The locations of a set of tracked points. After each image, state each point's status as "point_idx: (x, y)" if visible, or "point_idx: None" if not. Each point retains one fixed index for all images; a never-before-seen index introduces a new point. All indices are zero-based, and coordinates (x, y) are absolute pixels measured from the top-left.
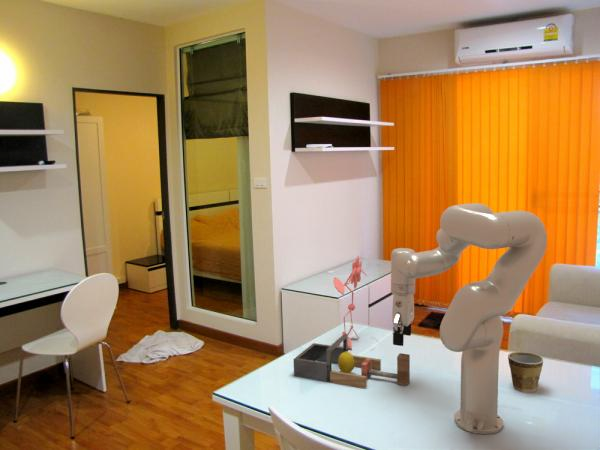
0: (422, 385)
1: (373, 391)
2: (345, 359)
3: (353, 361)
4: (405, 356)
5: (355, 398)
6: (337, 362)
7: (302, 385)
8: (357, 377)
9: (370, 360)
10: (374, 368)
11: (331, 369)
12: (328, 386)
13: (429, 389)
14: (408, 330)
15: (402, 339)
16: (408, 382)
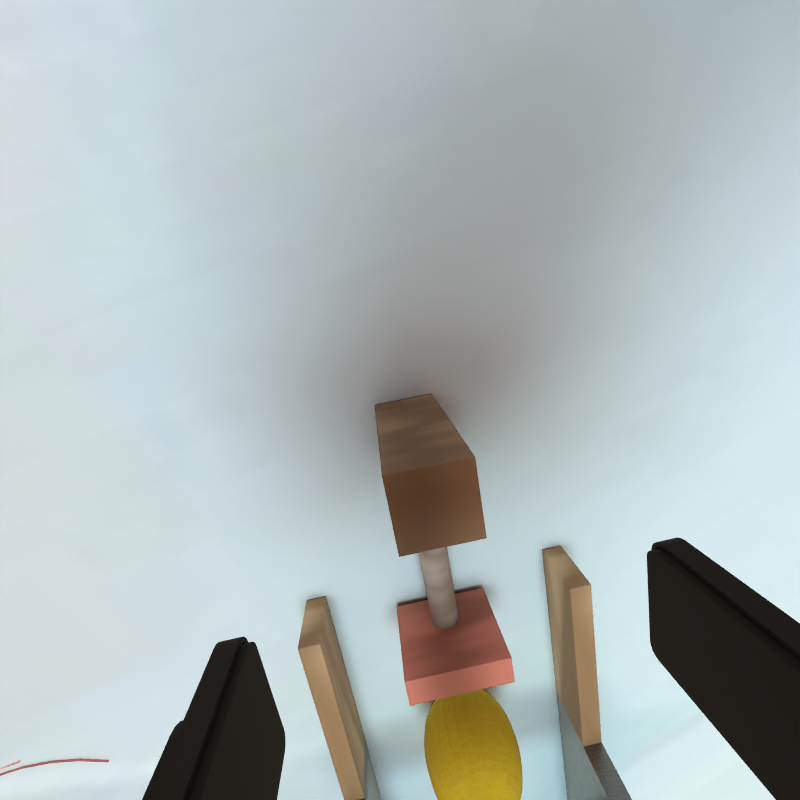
0: (372, 324)
1: (571, 502)
2: (518, 773)
3: (472, 732)
4: (445, 485)
5: (673, 530)
6: (373, 781)
7: (646, 747)
8: (590, 618)
9: (422, 673)
10: (332, 626)
11: (586, 753)
12: (611, 673)
13: (402, 265)
14: (235, 735)
15: (763, 604)
16: (402, 401)
